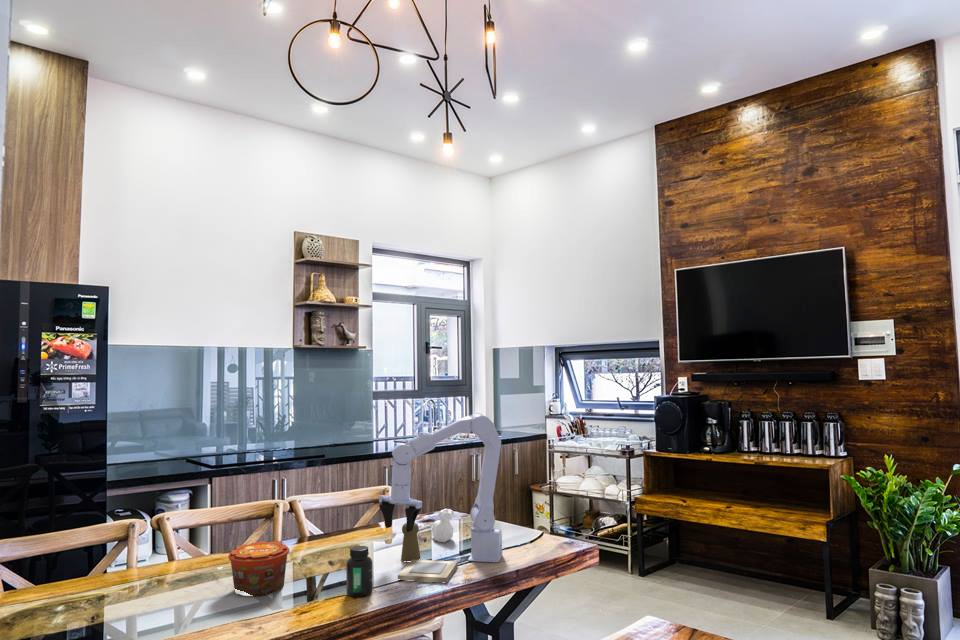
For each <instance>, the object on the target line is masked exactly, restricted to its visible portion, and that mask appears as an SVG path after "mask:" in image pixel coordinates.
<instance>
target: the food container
mask: <svg viewBox="0 0 960 640" xmlns="http://www.w3.org/2000/svg"><path fill="white" fill-rule="evenodd" d="M289 554H290V548H289V547H288V546H287V544H285V543H284V544H283V542H279V541H270V542H269V541H268V542H267V541H255V542H251V543H249V544H242V545H241V544H240V545H239V546H237V547H236V546H235V548H234V549H233V550H231V551H230V552H229V553H228V555H227V557H228V560H229V561H230V567H231V575H232V581H233V582H232V583H233V589H234V588H235V589H237V590H240V591H244V592H246V593H248V594H250V595H253V596H255V597H256V596H257V597H262V596H268V595H270V594H275V593H277V592H278V591H280V590H282V589H283V587H284V586H285V578H286V568H287V560H288V555H289Z"/></svg>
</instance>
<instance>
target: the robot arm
mask: <svg viewBox="0 0 960 640" xmlns="http://www.w3.org/2000/svg"><path fill="white" fill-rule="evenodd" d="M472 433H473V434H474V435H476V437H478V438H479V440H480V441H481V442H482V443H483V446H484V450H483V456H482V464H481V469H480V476H479V481H478V482H479V483H478V489H477V495H476V498H475V499H474V504H473V506H472V507H471V509H470V512H469V517H470V519H471V521H472V522H473V523H472V525H471V527H470V541H471V542H470V545H471V546H470V548H471V551H470V552H471V554H470V556H469V557H468V559H467V560H468V562H482V563H499V562H500V560H501V558H502V557H503V533H502V529H497V528H495V524H496V516H495V514H494V508H495V507H494V505H495V503H494V495H495V490H496V489H495V488H496V480H497V475H498V467H499V461H500V454H501V447H502V440H501V438H500V435H499V433H498V430H497V428H496V425H495V423H494V422H493V421H492V420H491V419H490V418H489V417H487V416H485V415H483V414H482V413H479V412H476V413H475V412H474V413H472V414H470V415H466V416H464V417H461V418H459V419H457V420H455V421H454V422H451V423H450V424H447V425H446V426H444V427H441V428H439V429H437V430H436V431H434V432H428V431H425V432H423V431H420V432H418V435H417V436H415V437H412V438H411V439H405V440H404V442H401V443H400V442H399V443H398V444H396V445H395V446H394V447H393V449H392V451H391V455H392V458H393V461H392V469H391V488H390V489H391V490H390V495H387V494H381V495H379V496H378V502H379V503H381V504H378V505H379V509H380V512H381V513H382V516H383V519H384V525H385V528H386V529H389V528H392V526H393V516H394V511H395V506H396V505H397V506H403V507H406V508H404V512H405V518H406V523H407V525H406V530H407V532H411V531H412V530H413V526H414V523H416V521H417V518H418V515H419V514H420V512H421V509H423V501H422V500H419V499H418V500H417V499H415V498H411V480H412V479H411V477H412V468H411V462H412V461H413V458H418V457H419V456H422V455H424V454H427V453H428V452H430V451H433V450H434V449H435V448H436V445H437V443H439V442H442V441H444V440H447V439H449V438H451V437H454V436H456V435H458V434H467V435H469V434H470V435H471V434H472Z"/></svg>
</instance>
